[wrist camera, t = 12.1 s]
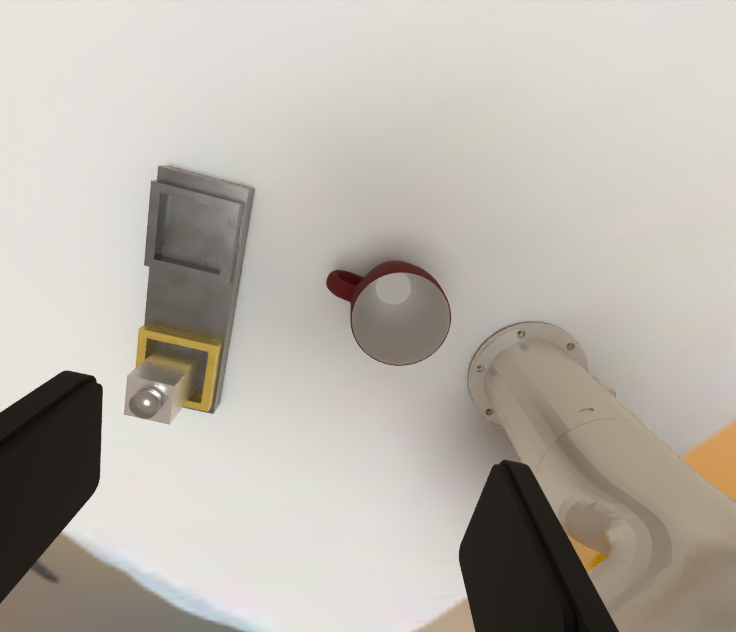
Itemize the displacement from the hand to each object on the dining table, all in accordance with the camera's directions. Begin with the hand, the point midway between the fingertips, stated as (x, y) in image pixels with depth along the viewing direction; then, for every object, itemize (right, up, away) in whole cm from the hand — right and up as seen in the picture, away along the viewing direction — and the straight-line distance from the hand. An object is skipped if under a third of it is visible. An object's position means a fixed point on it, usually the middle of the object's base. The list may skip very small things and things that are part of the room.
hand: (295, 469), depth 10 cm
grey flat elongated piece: (-16, +6, +33) cm, 37 cm away
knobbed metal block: (-18, -1, +33) cm, 38 cm away
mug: (+3, +7, +33) cm, 34 cm away
